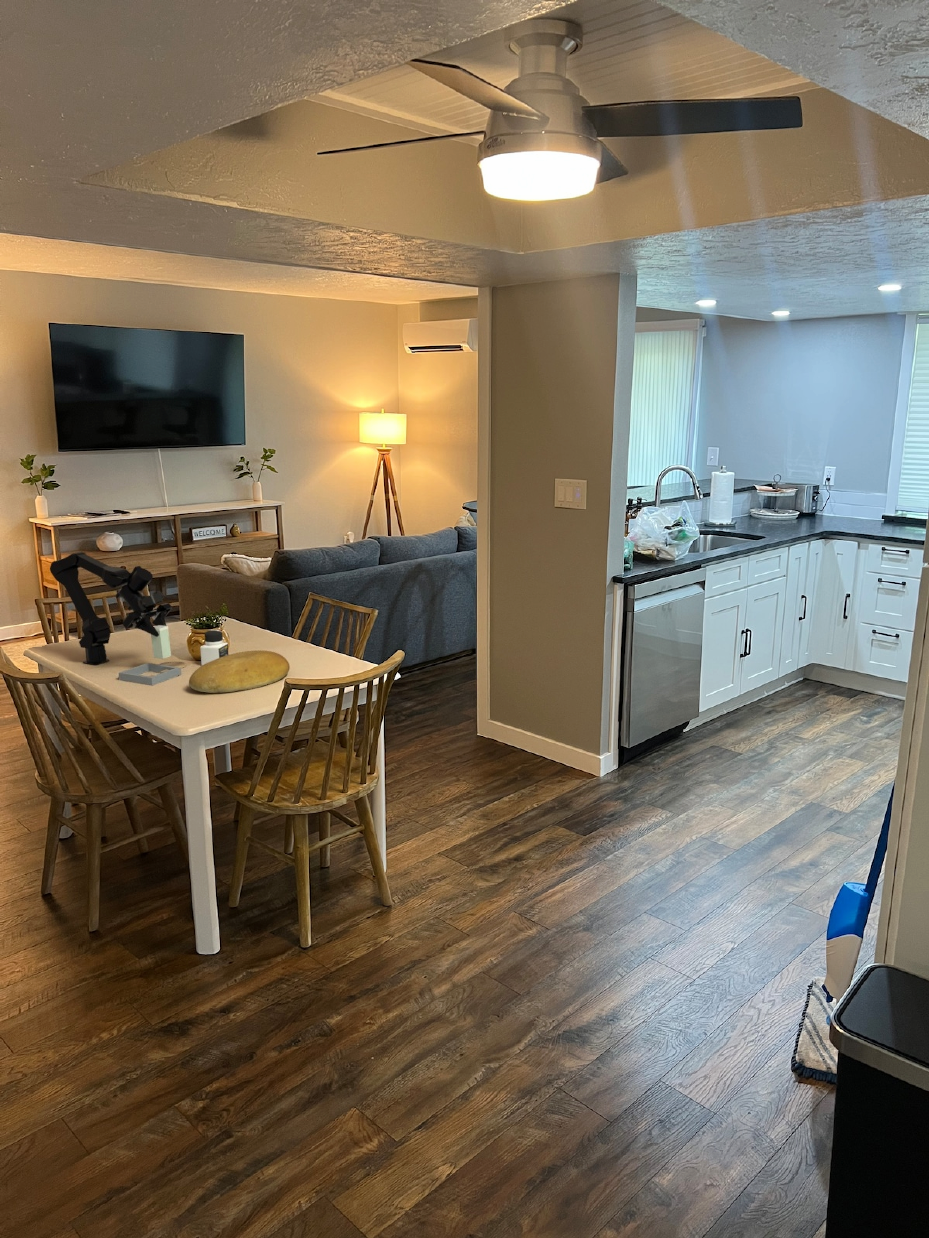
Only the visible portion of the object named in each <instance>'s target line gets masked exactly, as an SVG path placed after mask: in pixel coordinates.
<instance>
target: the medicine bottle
mask: <svg viewBox="0 0 929 1238" xmlns="http://www.w3.org/2000/svg"><path fill="white" fill-rule="evenodd" d="M204 643H205V644H203V645H201V646H200V661H201V666H202V665H204V664H206V663H208V662H211V661H213V660H215V659H218V658H220V657H223V656H227V655H230V654H229V644H228V642H224V638H223V631H221V630H218V629H211V630H210V629H209V630H207V631H205V632H204Z"/></svg>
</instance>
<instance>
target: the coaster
mask: <svg viewBox="0 0 929 1238" xmlns="http://www.w3.org/2000/svg"><path fill="white" fill-rule="evenodd" d="M159 664H160V665H166V666H173V667H180V668H181V669H184V668H185V667H187V664H186V662H185V661H184V662H183V661H166V662H162V663H161V662H160V663H159ZM183 667H184V668H183Z"/></svg>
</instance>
